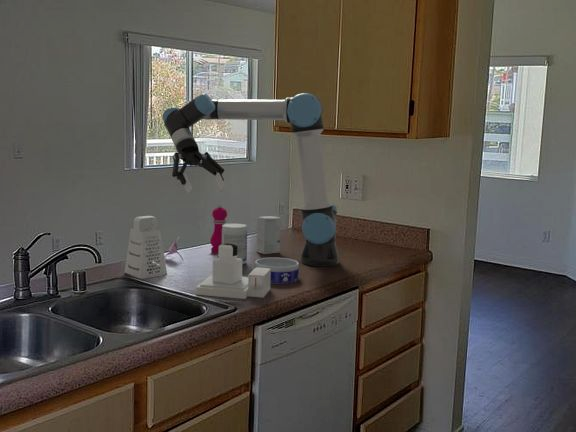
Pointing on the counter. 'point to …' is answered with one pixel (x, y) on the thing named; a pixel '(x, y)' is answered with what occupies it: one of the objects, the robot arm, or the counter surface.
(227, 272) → the medicine bottle
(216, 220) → the pepper mill
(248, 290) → the kitchen scale
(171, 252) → the lily
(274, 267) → the dog bowl
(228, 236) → the supplement tub
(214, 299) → the counter surface
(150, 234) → the grater
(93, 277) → the counter surface
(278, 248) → the skincare box
